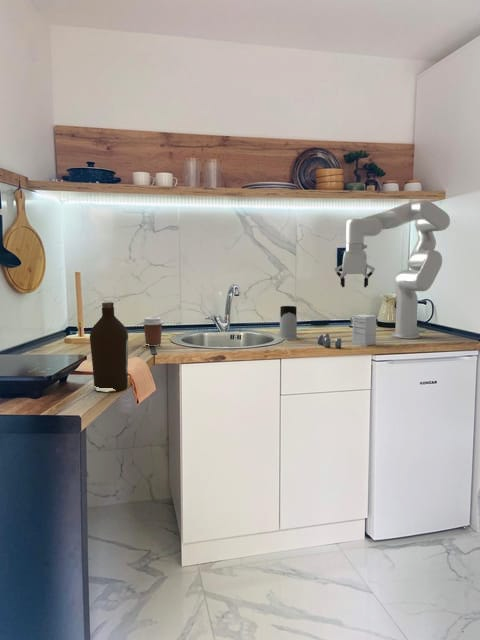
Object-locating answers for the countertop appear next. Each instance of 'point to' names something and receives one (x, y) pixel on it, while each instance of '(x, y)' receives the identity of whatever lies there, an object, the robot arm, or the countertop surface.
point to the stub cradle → (328, 341)
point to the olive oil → (109, 351)
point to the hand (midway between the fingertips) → (354, 287)
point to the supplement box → (364, 329)
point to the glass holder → (288, 323)
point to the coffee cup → (153, 330)
